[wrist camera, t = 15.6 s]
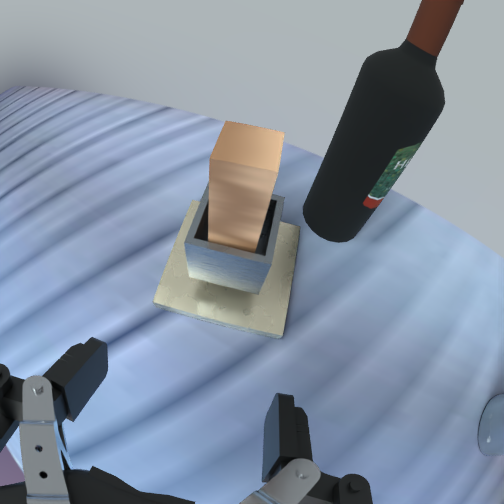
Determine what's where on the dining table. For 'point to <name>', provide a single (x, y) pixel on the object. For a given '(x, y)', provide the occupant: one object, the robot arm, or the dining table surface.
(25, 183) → the dining table surface
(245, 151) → the tan wooden block
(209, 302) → the cup bracket
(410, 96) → the wine bottle
